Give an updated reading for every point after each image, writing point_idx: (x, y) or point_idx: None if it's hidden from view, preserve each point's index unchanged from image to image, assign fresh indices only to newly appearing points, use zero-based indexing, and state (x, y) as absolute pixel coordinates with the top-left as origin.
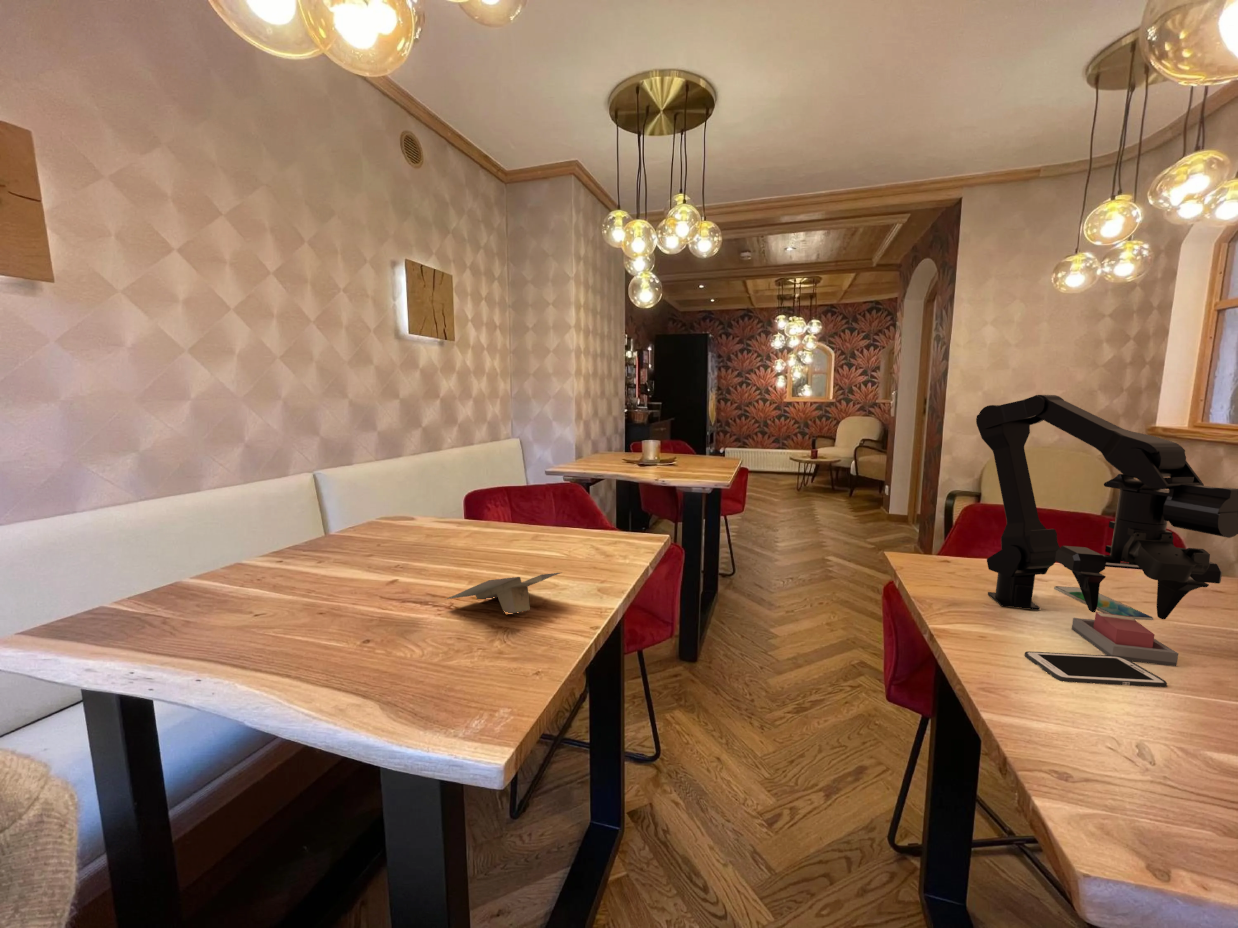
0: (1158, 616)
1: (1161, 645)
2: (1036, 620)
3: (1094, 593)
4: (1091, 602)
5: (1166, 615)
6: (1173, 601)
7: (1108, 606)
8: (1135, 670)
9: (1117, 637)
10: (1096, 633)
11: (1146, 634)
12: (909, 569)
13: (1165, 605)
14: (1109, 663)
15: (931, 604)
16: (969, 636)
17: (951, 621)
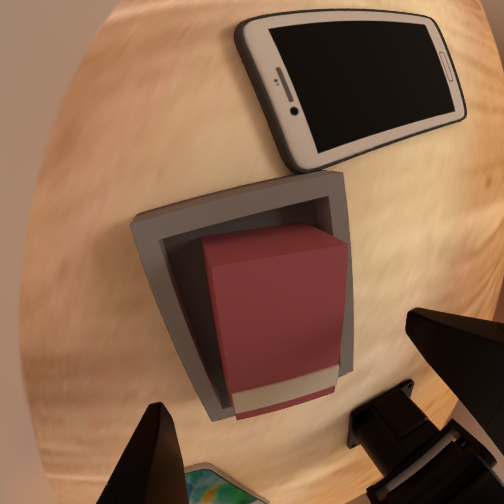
0: (170, 418)
1: (167, 280)
2: (385, 351)
3: (493, 328)
4: (456, 315)
5: (148, 415)
6: (131, 484)
7: (207, 490)
8: (296, 75)
9: (323, 234)
10: (350, 273)
11: (241, 259)
12: (441, 422)
13: (160, 460)
14: (349, 101)
15: (491, 299)
16: (497, 174)
17: (498, 234)
